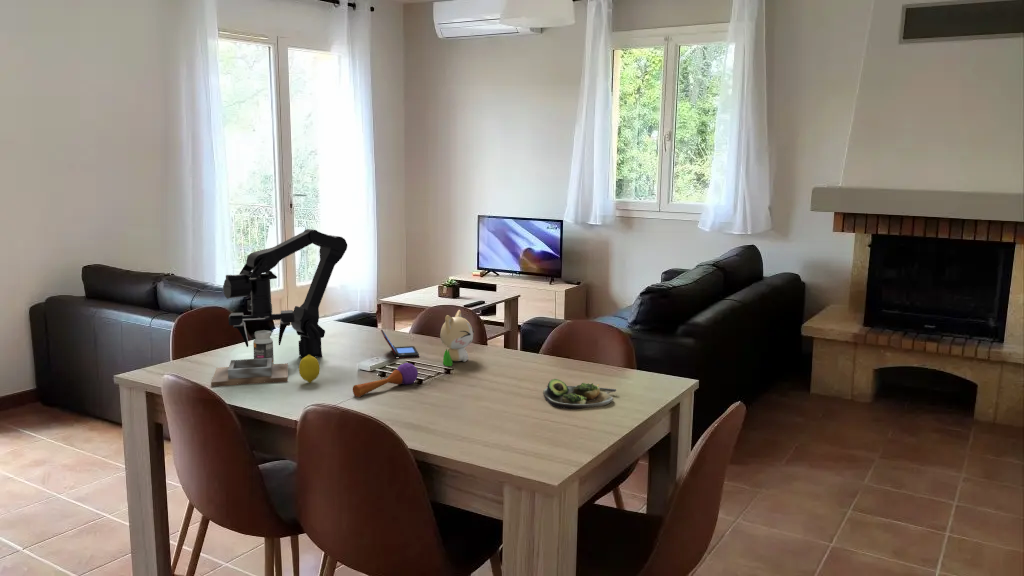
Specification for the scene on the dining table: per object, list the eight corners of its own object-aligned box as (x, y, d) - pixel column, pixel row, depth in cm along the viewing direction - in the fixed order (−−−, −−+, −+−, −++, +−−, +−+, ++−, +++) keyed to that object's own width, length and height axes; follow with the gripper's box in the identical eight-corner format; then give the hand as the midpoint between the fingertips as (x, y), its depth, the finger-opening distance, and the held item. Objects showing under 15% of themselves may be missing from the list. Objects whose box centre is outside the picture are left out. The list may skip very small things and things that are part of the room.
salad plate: (605, 387, 220) (606, 371, 219) (629, 407, 203) (629, 389, 202) (536, 392, 216) (537, 375, 215) (555, 412, 198) (555, 394, 198)
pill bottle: (250, 365, 242) (248, 332, 241) (262, 360, 247) (260, 329, 246) (265, 367, 240) (264, 334, 239) (277, 362, 245) (276, 330, 244)
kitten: (462, 368, 239) (462, 318, 237) (431, 365, 242) (430, 316, 240) (480, 356, 253) (480, 309, 251) (451, 354, 256) (450, 307, 254)
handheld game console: (419, 358, 252) (419, 334, 251) (384, 360, 249) (384, 336, 248) (414, 349, 264) (414, 326, 263) (381, 351, 261) (380, 328, 260)
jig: (287, 367, 240) (287, 355, 239) (287, 381, 225) (286, 368, 224) (216, 371, 235) (216, 359, 234) (211, 386, 219) (210, 373, 219)
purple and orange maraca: (347, 380, 212) (406, 360, 226) (352, 402, 212) (410, 381, 227) (360, 380, 208) (419, 360, 222) (365, 402, 208) (424, 381, 222)
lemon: (324, 381, 224) (323, 353, 223) (311, 386, 220) (310, 357, 218) (308, 379, 227) (307, 351, 226) (295, 384, 222) (294, 355, 221)
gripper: (293, 289, 250) (295, 338, 253) (229, 291, 246) (232, 341, 248) (293, 295, 240) (295, 346, 242) (227, 297, 235) (230, 350, 238)
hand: (263, 345), depth 243 cm, fingers open, 9 cm apart
